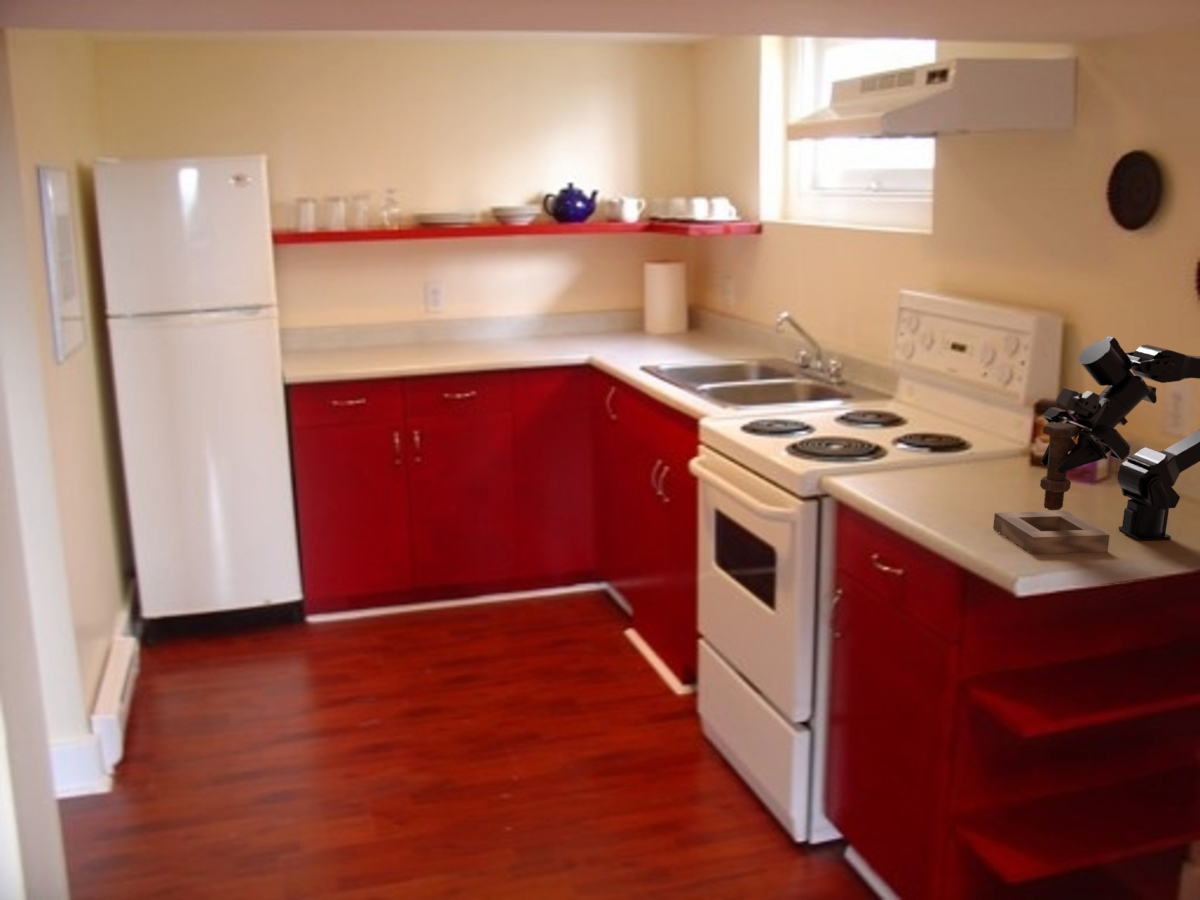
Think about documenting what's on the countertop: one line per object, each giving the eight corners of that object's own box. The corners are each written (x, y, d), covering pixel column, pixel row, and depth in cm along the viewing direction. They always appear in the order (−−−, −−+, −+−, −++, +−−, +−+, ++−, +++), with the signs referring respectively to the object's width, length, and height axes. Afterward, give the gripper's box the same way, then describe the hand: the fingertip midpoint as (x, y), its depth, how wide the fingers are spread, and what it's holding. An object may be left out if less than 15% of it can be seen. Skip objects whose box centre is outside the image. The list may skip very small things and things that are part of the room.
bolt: (1076, 512, 201) (1084, 428, 197) (1051, 514, 199) (1060, 429, 196) (1054, 503, 206) (1062, 421, 202) (1030, 505, 205) (1038, 422, 201)
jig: (1064, 526, 212) (1066, 510, 211) (1107, 551, 198) (1109, 534, 198) (993, 528, 210) (994, 512, 209) (1031, 554, 196) (1033, 537, 196)
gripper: (1057, 362, 206) (995, 425, 207) (1122, 382, 189) (1054, 450, 189) (1092, 404, 210) (1031, 465, 210) (1159, 427, 192) (1092, 493, 193)
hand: (1050, 467), depth 201 cm, fingers closed on bolt, 5 cm apart
